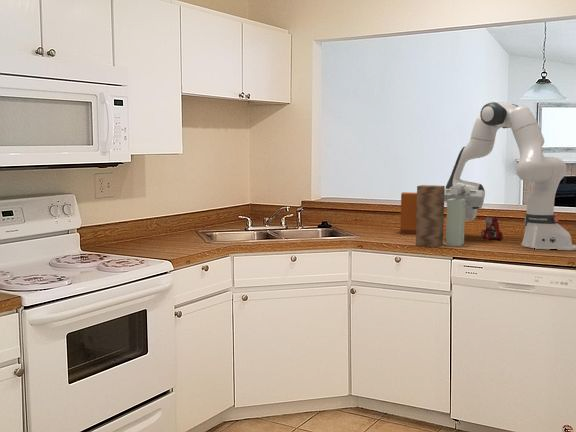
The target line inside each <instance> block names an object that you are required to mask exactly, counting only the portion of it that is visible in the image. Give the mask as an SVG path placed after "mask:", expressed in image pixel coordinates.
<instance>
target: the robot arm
mask: <svg viewBox="0 0 576 432" xmlns="http://www.w3.org/2000/svg"><path fill="white" fill-rule="evenodd" d="M479 114H480V115H479V116H478V117H477V118H476V119H475V122H474V124H473V127H472V131H471V135H470V139H469V141H468V143H467V145H465V146H462V148H461V149H460V151H459V153H458V156H457V158H456V161H455V163H454V166H453V169H452V171H451V174H450V176H449V179H448V181H447V183H446V185H445V192H444V203H447V200H449V199H465V222H466V221H467V222H470V221H474V220H475V219H476V218H477V214H478V209H483V205H484V200H485V195H486V191H485V188H484V185H482V183H477V182H473V181H468V180H463V179H462V178H461V176H462V174H463V171H464V168H465V166H466V163H467V162H469V161H470V160H475V159H480V158H484V157H486V156H488V155H490V153H492V151H493V149H494V147H495V146H494V145H495V140H496V137H497V132H498V131H499V129H501V128H502V129H509V128H510V129H511V131H512V135H513V137H514V140H515V142H516V145H517V148H518V150H519V162H518V163H517V166H516V174H517V176H518V178H519V179H520V180H521V181H524V182H527V183H532V184H534V185H533V187H532V189H531V191H530V192H529V193H528V194H527V198H526V213H525V215H524V226H525V227H524V235H523V239H522V242H521V244H520V245H521V247H525V248H526V247H527V248H531V249H534V248H535V249H534V250H550V249H557V250H559V251H576V244H573V243H572V235H571V234H570V232H569V231H568V230H566V229H565V227H562V226H561V225H560V224H559V219H560V218H559V216H557V215H555V214H554V212H555V211H554V210H555V198H556V193H557V189H558V187H559V185H560V182H561V180H563V179H564V177H565V175H566V174H567V164H566V163H565V161H563V160H562V159H560V158H558V157H555V156H544V153H543V146H544V144H545V138H544V135H543V133H542V131H541V128H540V125H539V124H538V121H537V119H536V117H535V116H534V114H533V112H532V111H531V109H530V108H529V107H527V106H524V105H521V106H520V105H517V104H514V103H508V102H502V101H501V102H494V101H491V102H488V103H486V104H484V105H483V106H482V107H481V109H480V113H479ZM456 185H466V187H463V192H462V193H460V194H457V195H455V194H450V187H453V186H456ZM557 250H556V251H557Z"/></svg>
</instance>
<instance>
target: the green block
mask: <svg viewBox="0 0 576 432" xmlns="http://www.w3.org/2000/svg"><path fill="white" fill-rule="evenodd" d="M465 222H466V221H465V199H449V200H447V202H446V221H445V223H446V227H445V229H446V230H445V246H447V247H448V246H449V247H461V246H463V245H464V244H465V228H466V227H465Z"/></svg>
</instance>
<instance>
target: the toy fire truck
mask: <svg viewBox="0 0 576 432" xmlns="http://www.w3.org/2000/svg"><path fill="white" fill-rule="evenodd" d="M498 221H499V219H498V218H497V217H493V216H486V218H485V222H486V224H485V225H486V226H485V229H483V230H481V233H480V234H481V235H480V236H481V238H482V239H486V240H487V241H490V240H492V239H496V240H497V241H501V240H502V239H503V232H502V231H500V224H499V222H498Z"/></svg>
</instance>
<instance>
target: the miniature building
mask: <svg viewBox="0 0 576 432" xmlns="http://www.w3.org/2000/svg"><path fill="white" fill-rule="evenodd" d="M416 212H417V192H401V194H400V230H399V234H401V235H415V236H416Z"/></svg>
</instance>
